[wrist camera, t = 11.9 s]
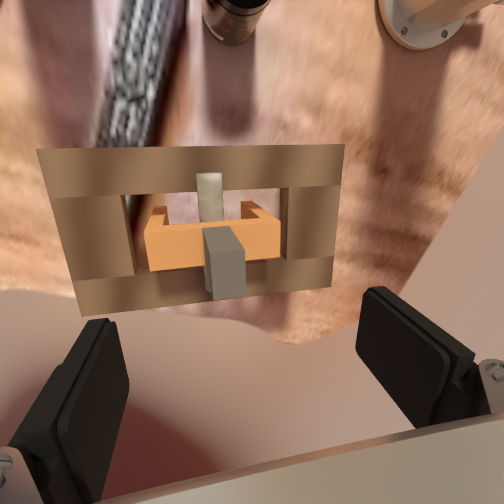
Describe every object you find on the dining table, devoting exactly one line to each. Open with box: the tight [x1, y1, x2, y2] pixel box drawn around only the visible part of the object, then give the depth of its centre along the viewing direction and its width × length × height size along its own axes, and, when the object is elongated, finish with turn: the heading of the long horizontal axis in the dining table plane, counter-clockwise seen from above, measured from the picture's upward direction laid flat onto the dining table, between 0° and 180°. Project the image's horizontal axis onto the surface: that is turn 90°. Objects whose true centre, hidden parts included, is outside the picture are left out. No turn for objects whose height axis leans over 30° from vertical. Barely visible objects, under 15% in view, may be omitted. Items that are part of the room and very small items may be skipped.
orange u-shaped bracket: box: [144, 201, 281, 301], centre depth 23 cm, size 10×3×15 cm, turn 91°
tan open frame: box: [36, 144, 345, 317], centre depth 29 cm, size 24×14×14 cm, turn 91°
